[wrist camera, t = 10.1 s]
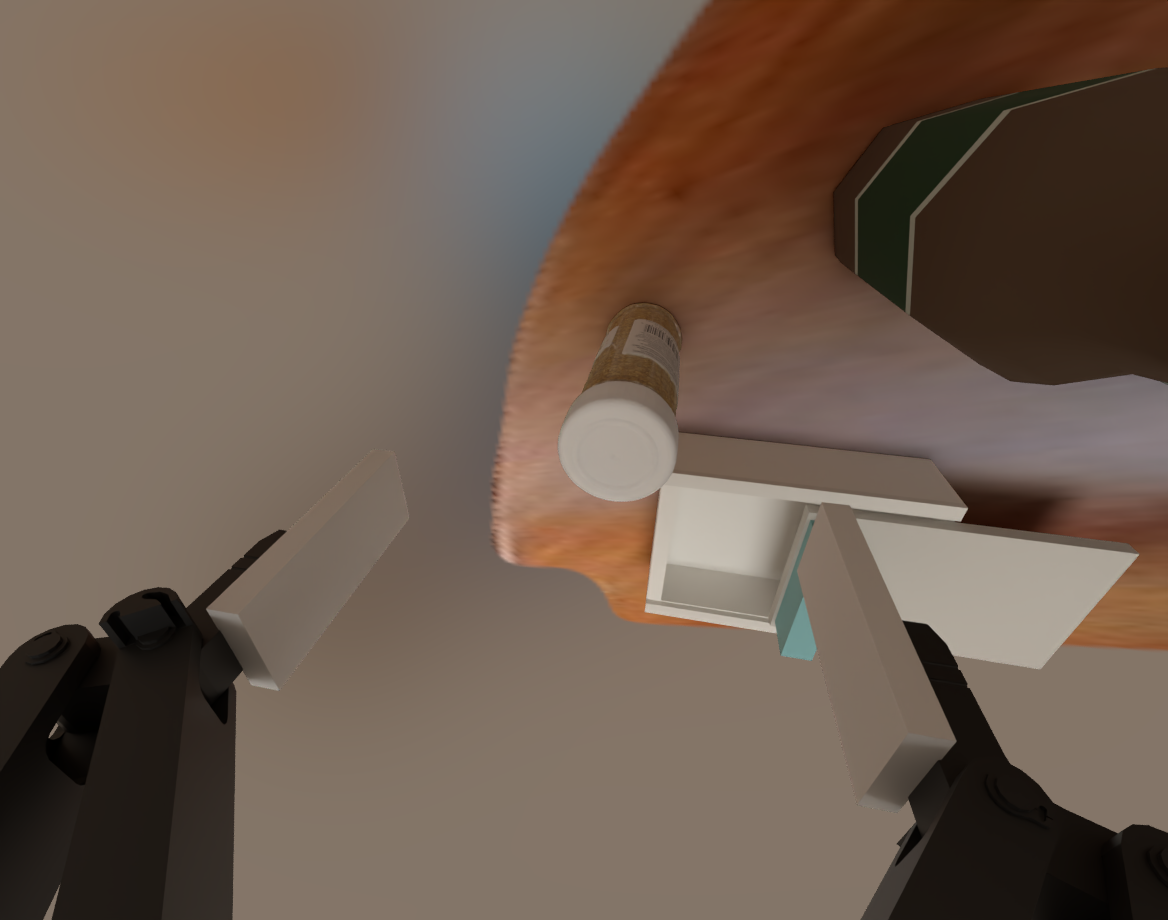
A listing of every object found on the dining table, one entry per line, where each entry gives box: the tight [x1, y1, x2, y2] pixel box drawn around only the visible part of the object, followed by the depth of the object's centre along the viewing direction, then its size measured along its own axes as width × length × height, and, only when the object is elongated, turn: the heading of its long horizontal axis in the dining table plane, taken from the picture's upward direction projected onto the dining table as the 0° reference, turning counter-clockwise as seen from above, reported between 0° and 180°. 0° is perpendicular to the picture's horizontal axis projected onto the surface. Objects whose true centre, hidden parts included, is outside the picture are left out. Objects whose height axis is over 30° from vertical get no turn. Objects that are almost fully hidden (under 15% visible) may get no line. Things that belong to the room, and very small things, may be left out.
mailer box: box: [645, 432, 968, 633], centre depth 32 cm, size 16×12×5 cm
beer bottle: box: [834, 68, 1168, 385], centre depth 13 cm, size 8×8×24 cm
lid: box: [768, 504, 1139, 669], centre depth 28 cm, size 16×10×3 cm, turn 89°
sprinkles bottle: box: [558, 303, 682, 502], centre depth 24 cm, size 5×5×13 cm
